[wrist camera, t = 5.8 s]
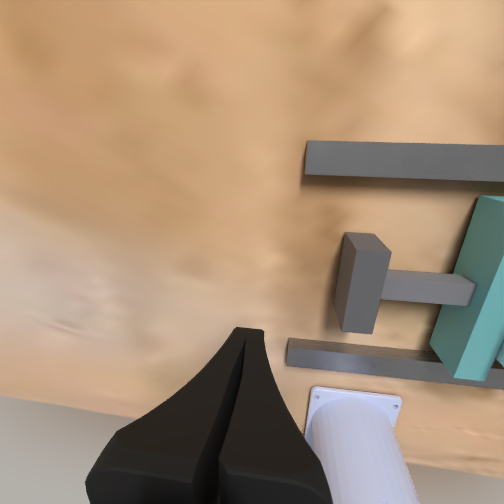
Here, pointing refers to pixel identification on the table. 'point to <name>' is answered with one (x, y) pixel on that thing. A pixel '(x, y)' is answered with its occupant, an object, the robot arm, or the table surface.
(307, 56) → the table surface
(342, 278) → the sliding jaw
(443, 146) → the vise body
